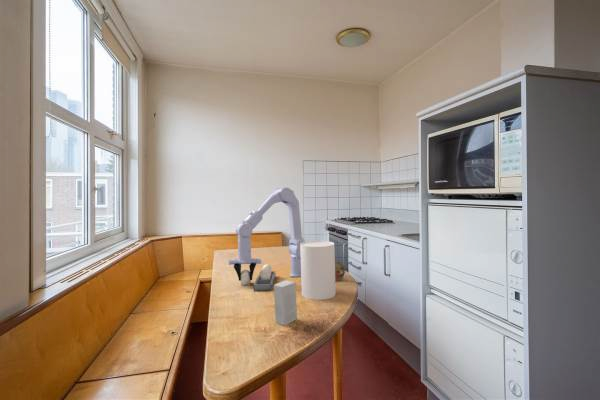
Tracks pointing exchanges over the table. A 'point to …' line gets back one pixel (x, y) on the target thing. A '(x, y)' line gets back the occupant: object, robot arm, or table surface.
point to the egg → (245, 277)
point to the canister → (318, 270)
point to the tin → (339, 271)
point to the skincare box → (285, 302)
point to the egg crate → (265, 279)
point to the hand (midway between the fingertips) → (245, 279)
